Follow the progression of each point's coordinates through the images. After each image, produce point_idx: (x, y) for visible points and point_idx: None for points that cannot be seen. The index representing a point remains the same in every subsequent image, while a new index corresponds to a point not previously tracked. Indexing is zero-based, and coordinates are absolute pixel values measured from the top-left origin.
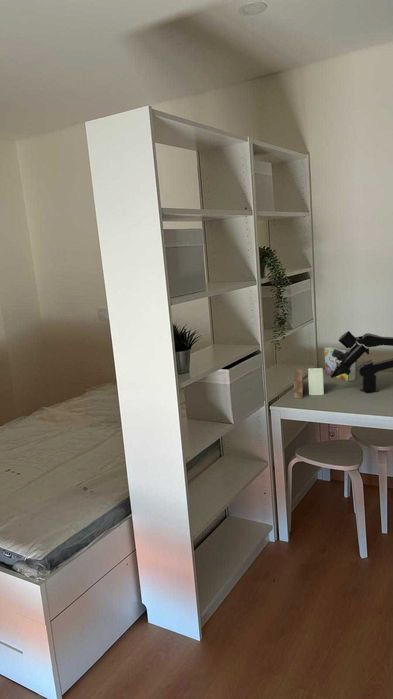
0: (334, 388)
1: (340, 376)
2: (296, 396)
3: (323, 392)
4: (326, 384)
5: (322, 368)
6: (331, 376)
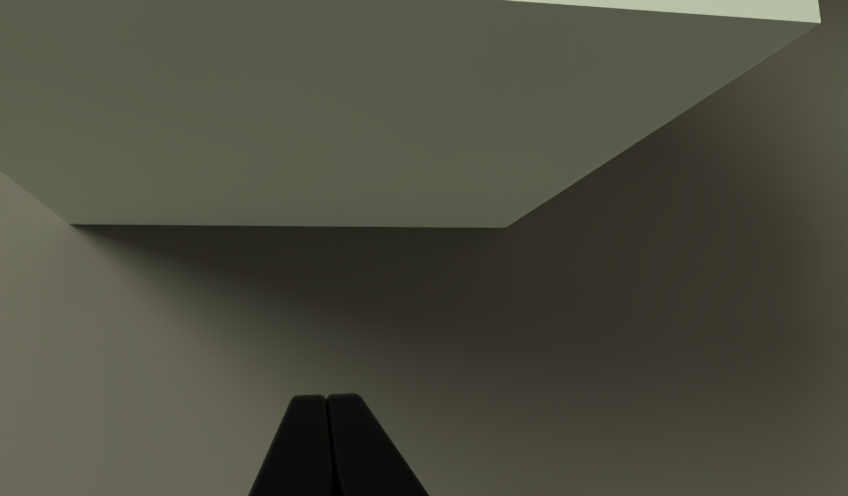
0: (537, 461)
1: None
2: None
3: (57, 209)
4: (804, 300)
5: (747, 15)
6: (285, 429)
